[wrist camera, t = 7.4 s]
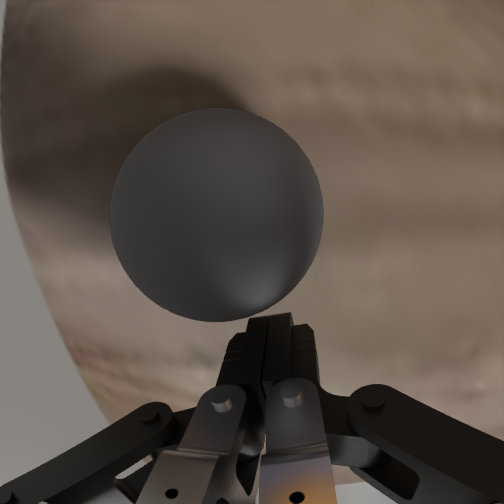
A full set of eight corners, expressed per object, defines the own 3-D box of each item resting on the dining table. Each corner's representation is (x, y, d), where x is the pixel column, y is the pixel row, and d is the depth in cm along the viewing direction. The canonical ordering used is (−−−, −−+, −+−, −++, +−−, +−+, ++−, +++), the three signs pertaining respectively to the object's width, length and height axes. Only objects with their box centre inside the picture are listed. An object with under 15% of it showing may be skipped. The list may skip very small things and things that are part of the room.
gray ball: (181, 345, 11) (190, 207, 14) (350, 327, 9) (325, 171, 12) (42, 293, 6) (99, 117, 9) (302, 238, 4) (272, 38, 7)
